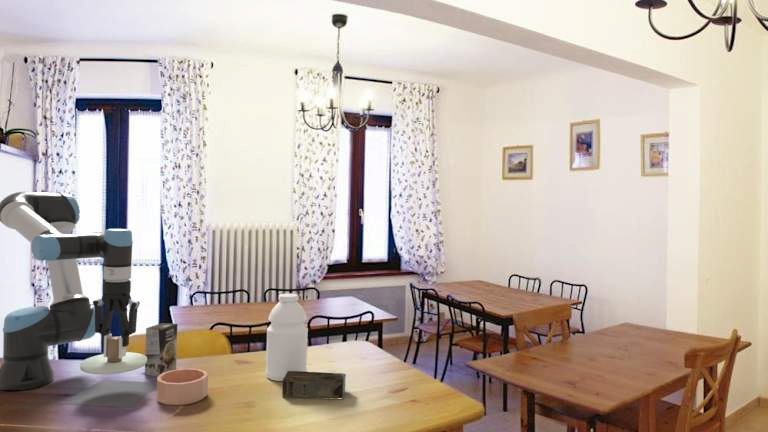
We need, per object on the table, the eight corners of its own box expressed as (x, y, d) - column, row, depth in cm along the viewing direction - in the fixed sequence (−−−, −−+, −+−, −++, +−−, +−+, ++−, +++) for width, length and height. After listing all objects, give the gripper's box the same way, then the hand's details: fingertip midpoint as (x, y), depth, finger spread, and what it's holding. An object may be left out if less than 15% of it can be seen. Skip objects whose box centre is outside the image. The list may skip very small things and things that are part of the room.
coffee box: (160, 377, 171) (162, 329, 171) (143, 375, 172) (145, 327, 172) (177, 369, 180) (178, 323, 180) (160, 367, 181) (161, 322, 181)
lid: (66, 372, 147) (66, 344, 147) (103, 353, 165) (103, 329, 164) (127, 376, 146) (128, 348, 146) (157, 357, 164) (158, 332, 164)
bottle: (259, 380, 171) (261, 297, 171) (274, 367, 185) (276, 290, 184) (299, 383, 169) (301, 299, 169) (311, 370, 183) (314, 292, 182)
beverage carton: (343, 400, 156) (344, 379, 156) (280, 399, 156) (281, 377, 156) (345, 391, 164) (346, 371, 164) (285, 389, 164) (286, 369, 164)
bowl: (147, 405, 148) (148, 382, 147) (170, 387, 162) (170, 367, 162) (195, 407, 147) (195, 385, 147) (213, 390, 161) (214, 369, 161)
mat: (60, 404, 146) (60, 403, 146) (102, 381, 166) (102, 379, 166) (128, 408, 145) (128, 407, 145) (162, 384, 165) (162, 382, 165)
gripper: (82, 280, 151) (79, 358, 152) (137, 283, 150) (135, 362, 151) (97, 276, 159) (95, 351, 159) (150, 279, 158) (148, 354, 159)
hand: (114, 356), depth 155 cm, fingers closed on lid, 4 cm apart
